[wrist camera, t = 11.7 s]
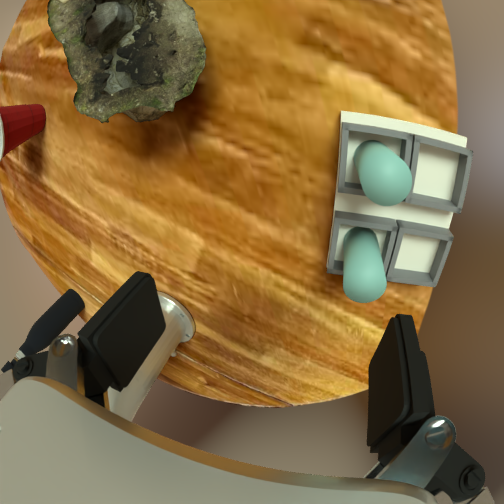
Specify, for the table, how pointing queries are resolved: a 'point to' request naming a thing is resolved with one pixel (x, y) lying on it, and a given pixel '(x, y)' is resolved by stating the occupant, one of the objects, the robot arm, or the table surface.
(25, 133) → the plastic cup
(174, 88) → the hollow geode rock
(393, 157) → the teal peg
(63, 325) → the black water bottle
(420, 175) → the pin board
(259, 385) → the table surface
